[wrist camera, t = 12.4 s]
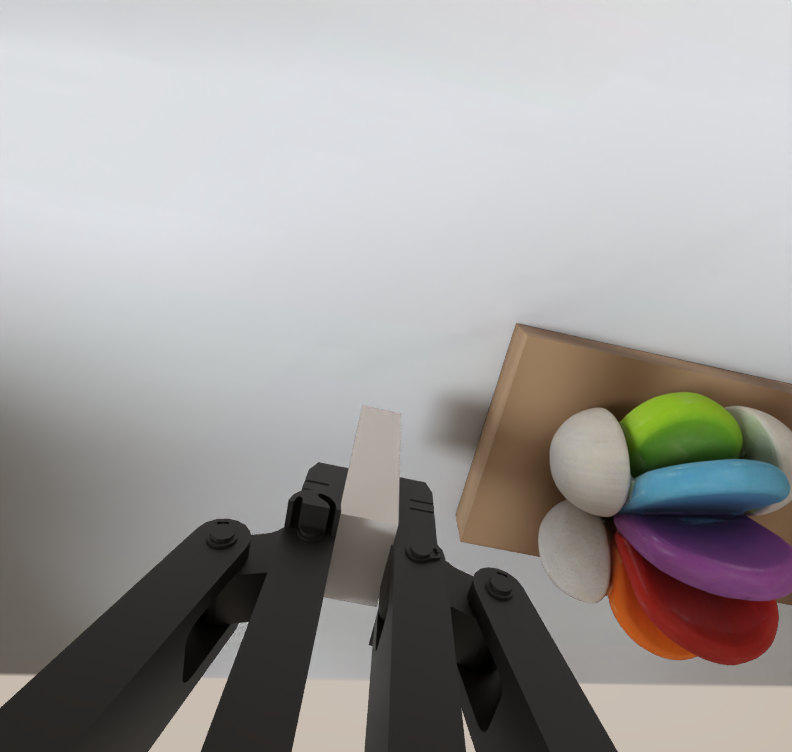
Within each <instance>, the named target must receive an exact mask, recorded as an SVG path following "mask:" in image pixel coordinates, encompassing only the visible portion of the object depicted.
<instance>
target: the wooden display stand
mask: <svg viewBox="0 0 792 752" xmlns="http://www.w3.org/2000/svg"><path fill="white" fill-rule="evenodd" d="M677 392H691V393H697V394H700V395H703V396H706V397H708V398H710V399H712V400H713V401H715V402H717V403H718V404H720V405H721V406H722V407H723V408H725V407H730V406H743V407H748V408H753V409H756V410H759V411H762V412H764V413H767V414H769V415H771V416H773V417H775V418H776V419H778V420H779V421H780V422H782V423H783V424H784V425H785V426H786V427H788V428H789V429H790V430H791V432H792V384H788V383H783V382H779V381H774V380H770V379H765V378H761V377H756V376H751V375H747V374H742V373H738V372H733V371H729V370H724V369H720V368H715V367H711V366H706V365H702V364H697V363H693V362H688V361H684V360H679V359H675V358H670V357H666V356H661V355H657V354H652V353H648V352H643V351H639V350H634V349H630V348H625V347H621V346H616V345H612V344H607V343H603V342H598V341H594V340H589V339H585V338H580V337H576V336H571V335H567V334H562V333H557V332H553V331H548V330H544V329H539V328H535V327H530V326H526V325H521V324H517V323H516V325H515V329H514V332H513V335H512V338H511V341H510V344H509V347H508V351H507V354H506V357H505V360H504V363H503V366H502V370H501V373H500V376H499V379H498V382H497V385H496V389H495V392H494V395H493V398H492V401H491V404H490V408H489V411H488V414H487V417H486V420H485V423H484V427H483V430H482V433H481V436H480V439H479V442H478V446H477V449H476V452H475V455H474V458H473V461H472V465H471V468H470V471H469V474H468V477H467V480H466V484H465V487H464V490H463V493H462V496H461V499H460V503H459V506H458V509H457V512H456V519H457V525H458V531H459V537H460V542H465V543H470V544H476V545H481V546H486V547H491V548H496V549H502V550H507V551H512V552H517V553H523V554H528V555H533V556H538V557H540V553H539V545H538V536H539V528H540V525H541V523H542V521H543V519H544V517H545V516H546V514H547V513H548V512H549V511H550V510H551V509H552V508H553V507H554V506H555V505H557V504H558V503H560V502H562V501H564V500H567V499H566V498H565V497H564V495H563V494H562V493H561V492H560V491H559V489H558V488H557V486H556V484H555V482H554V480H553V477H552V473H551V468H550V446H551V442H552V439H553V437H554V435H555V433H556V432H557V430H558V429H559V427H560V426H561V425H562V424H563V423H564V422H565V421H566V420H567V419H569V418H570V417H571V416H573V415H574V414H577V413H579V412H581V411H584V410H587V409H591V408H604V409H607V410H608V411H609V412H610V413H612V414H613V415H614V416H615V418H616V419H617V421H618V422H620V421H622V419H623V418H624V417H625V416H626V415H627V414H628V413H630V412H631V411H632V410H633V409H634V408H636V407H637V406H639V405H640V404H642V403H644V402H646V401H647V400H649V399H652V398H654V397H657V396H660V395H664V394H669V393H677ZM748 517H749V518H751V519H753V520H754V521H756V522H757V523H759V524H760V525H762V526H764V527H765V528H767V529H768V530H770V531H772V532H773V533H775V534H776V535H778V536H779V537H781V538H782V539H783V540H785V541H786V542H787V543H788V544H789V545H791V546H792V500H791V501H790V502H789V503H788V504H787V505H785V506H784V507H782V508H780V509H778V510H776V511H774V512H771V513H768V514H764V515H760V516H748ZM776 602H778V603H783V604H789V605H792V593H790V594H789V595H787V596H785V597H782V598H778V599H776Z"/></svg>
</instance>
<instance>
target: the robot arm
mask: <svg viewBox="0 0 792 752" xmlns="http://www.w3.org/2000/svg"><path fill="white" fill-rule="evenodd" d="M400 429H401V414H400V413H396V412H391V411H386V410H381V409H376V408H372V407H367V406H362V409H361V414H360V419H359V423H358V428H357V432H356V437H355V442H354V446H353V451H352V455H351V460H350V465H349V468H344V467H339V466H334V465H329V464H324V463H319V462H318V463H317V464H316V465H314V466H313V467H312V468H311V469H309V471H308V474H307V477H306V479H305V482H304V485H303V488H302V490H301V491H300V492H298V493H296V494H294V495H293V496H292V497H291V498H290V499H289V502H288V508H287V514H286V520H285V527H284V528H282V529H280V530H278V531H276V532H272V533H268V534H258V535H251V534H250V531H249V529H248V528H247V527H246V525H244V524H242V523H240V522H239V521H235V520H231V519H216V520H212V521H209V522H206V523H204V524H203V525H201V526H200V527H198V528H197V529H196V530H195V531H194V532H193V533H191V534H190V535H189V536H188V537H187V538H186V539H185V540H184V541H183V542H182V543H180V544H179V545H178V546H177V547H176V548H175V549H174V550H173V551H172V552H171V553H170V554H168V555H167V556H166V557H165V558H164V559H163V560H162V561H161V562H160V563H159V564H157V565H156V566H155V567H154V568H153V569H152V570H151V571H150V572H149V573H148V574H147V575H145V576H144V577H143V578H142V579H141V580H140V581H139V582H138V583H137V584H136V585H134V586H133V587H132V588H131V589H130V590H129V591H128V592H127V593H126V594H125V595H124V596H122V597H121V598H120V599H119V600H118V601H117V602H116V603H115V604H114V605H113V606H111V607H110V608H109V609H108V610H107V611H106V612H105V613H104V614H103V615H102V616H101V617H99V618H98V619H97V620H96V621H95V622H94V623H93V624H92V625H91V626H90V627H89V628H87V629H86V630H85V631H84V632H83V633H82V634H81V635H80V636H79V637H78V638H76V639H75V640H74V641H73V642H72V643H71V644H70V645H69V646H68V647H67V648H66V649H64V650H63V651H62V652H61V653H60V654H59V655H58V656H57V657H56V658H55V659H53V660H52V661H51V662H50V663H49V664H48V665H47V666H46V667H45V668H44V669H43V670H41V671H40V672H39V673H38V674H37V675H36V676H35V677H34V678H33V679H32V680H30V681H29V682H28V683H27V684H26V685H25V686H24V687H23V688H22V689H21V690H20V691H18V692H17V693H16V694H15V695H14V696H13V697H12V698H11V699H10V700H9V701H7V702H6V703H5V704H4V705H3V706H2V707H1V708H0V752H148V751H149V750H150V748H151V747H152V745H153V744H154V743H155V741H156V740H157V738H158V737H159V736H160V734H161V733H162V731H163V730H164V729H165V727H166V725H167V724H168V723H169V722H170V720H171V719H172V718H173V716H174V715H175V713H176V712H177V711H178V709H179V708H180V706H181V705H182V704H183V702H184V701H185V699H186V698H187V697H188V695H189V694H190V692H191V691H192V690H193V688H194V687H195V685H196V684H197V683H198V681H199V680H200V679H201V677H202V676H203V674H204V673H205V672H206V670H207V669H208V667H209V666H210V665H211V663H212V662H213V660H214V659H215V658H216V656H217V655H218V653H219V652H220V651H221V649H222V648H223V646H224V645H225V644H226V642H227V641H228V640H229V638H230V637H231V635H232V634H233V633H234V631H235V630H236V628H237V626H238V624H239V623H242V622H249V624H248V626H247V629H246V632H245V634H244V637H243V640H242V642H241V645H240V648H239V650H238V653H237V656H236V658H235V661H234V664H233V667H232V669H231V672H230V675H229V677H228V681H227V683H226V685H225V688H224V691H223V693H222V696H221V699H220V702H219V704H218V707H217V709H216V712H215V715H214V718H213V720H212V723H211V726H210V728H209V731H208V734H207V736H206V739H205V742H204V744H203V747H202V750H201V752H292V747H293V742H294V737H295V732H296V727H297V723H298V717H299V712H300V708H301V703H302V698H303V693H304V689H305V683H306V679H307V674H308V669H309V664H310V660H311V655H312V650H313V645H314V640H315V635H316V631H317V626H318V621H319V616H320V611H321V606H322V601H323V597H326V598H331V599H337V600H342V601H348V602H353V603H358V604H364V605H369V606H375V607H377V603H378V599H379V609H378V612H377V616H376V620H375V623H374V627H373V631H372V635H371V638H370V642H369V645H371V646H373V649H372V662H371V674H370V688H369V701H368V713H367V726H366V739H365V752H466V749H465V748H466V747H465V738H464V729H463V720H462V711H463V714H464V717H465V720H466V724H467V727H468V730H469V732H470V736H471V739H472V741H473V745H474V748H475V751H476V752H618V751H617V750H616V748H615V746H614V745H613V743H612V741H611V739H610V738H609V736H608V734H607V732H606V731H605V729H604V727H603V726H602V724H601V722H600V720H599V719H598V717H597V715H596V714H595V712H594V710H593V708H592V706H591V705H590V703H589V701H588V699H587V698H586V696H585V694H584V693H583V691H582V689H581V687H580V686H579V684H578V682H577V680H576V679H575V677H574V675H573V673H572V672H571V670H570V668H569V667H568V665H567V663H566V661H565V660H564V658H563V656H562V654H561V653H560V651H559V649H558V647H557V646H556V644H555V642H554V640H553V639H552V637H551V635H550V634H549V632H548V630H547V628H546V627H545V625H544V623H543V621H542V620H541V618H540V616H539V614H538V613H537V611H536V609H535V608H534V606H533V604H532V602H531V601H530V599H529V597H528V595H527V594H526V592H525V590H524V588H523V587H522V586H521V584H520V583H519V582H518V581H517V580H516V579H515V578H514V577H512V576H511V575H510V574H508V573H506V572H504V571H502V570H500V569H496V568H489V567H488V568H483V569H480V570H478V571H477V572H476V573H475V575H474V576H471V575H469V574H467V573H465V572H462V571H460V570H458V569H457V568H455V567H453V566H452V565H450V564H449V563H448V562H446V560H445V557H444V554H443V551H442V550H441V548H440V547H439V546H438V545H437V539H436V528H435V517H434V507H433V496H432V492H431V490H430V489H429V487H428V486H427V484H426V483H425V482H420V481H415V480H410V479H405V478H400V477H399V475H400ZM461 708H462V710H461Z"/></svg>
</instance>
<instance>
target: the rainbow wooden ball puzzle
mask: <svg viewBox="0 0 792 752" xmlns="http://www.w3.org/2000/svg"><path fill="white" fill-rule="evenodd" d="M550 468H551V473H552V477H553V480H554V482H555V484H556V486H557V488H558V489H559V491H560V492H561V493H562V494H563V495H564V497H565V498H566V499H567V500H564V501H562V502H560V503H558V504H557V505H555V506H554V507H553V508H552V509H551V510H550V511H549V512H548V513H547V514H546V516H545V517H544V519H543V521H542V523H541V525H540V528H539V536H538V545H539V553H540V559H541V562H542V565H543V568H544V570H545V572H546V573H547V575H548V576H549V578H550V579H551V580H552V581H553V583H554V584H555V585H556V586H557V587H558V588H560V589H561V590H562V591H563V592H565V593H566V594H568V595H569V596H571V597H573V598H575V599H578V600H581V601H584V602H588V603H597V602H599V601H600V600H602V599H603V597H604V596H608V598H609V603H610V606H611V609H612V611H613V614H614V616H615V618H616V619H617V621H618V623H619V624H620V626H621V627H622V628H623V630H624V631H625V632H626V633H627V634H628V636H629V637H630V638H631V639H632V640H633V641H635V642H636V643H637V644H638V645H640V646H641V647H643V648H644V649H646V650H648V651H649V652H651V653H653V654H655V655H658V656H660V657H663V658H667V659H672V660H686V659H691V658H694V657H697V656H698V657H700V658H702V659H705V660H708V661H711V662H714V663H718V664H724V665H738V664H742V663H746V662H748V661H751V660H754V659H756V658H758V657H759V656H761V655H762V654H763V653H764V652H766V651H767V650H768V648H769V647H770V646H771V644H772V643H773V641H774V638H775V635H776V631H777V627H778V621H779V615H778V606H777V603H776V599H778V598H782V597H785V596H787V595H789V594H790V593H792V546H791V545H789V544H788V543H787V542H786V541H785V540H783V539H782V538H781V537H779V536H778V535H776V534H775V533H773V532H772V531H770V530H768V529H767V528H765V527H764V526H762V525H760V524H759V523H757V522H756V521H754V520H753V519H751V518H749V517H748V516H760V515H764V514H768V513H771V512H774V511H776V510H778V509H780V508H782V507H784V506H785V505H787V504H788V503H789V502H790V501H791V500H792V432H791V430H790V429H789V428H788V427H786V426H785V425H784V424H783V423H782V422H780V421H779V420H778V419H776V418H775V417H773V416H771V415H769V414H767V413H764V412H762V411H759V410H756V409H753V408H748V407H743V406H730V407H725V408H723V407H722V406H721V405H720V404H718V403H717V402H715V401H713V400H712V399H710V398H708V397H706V396H703V395H700V394H697V393H691V392H677V393H669V394H664V395H660V396H657V397H654V398H652V399H649V400H647V401H646V402H644V403H642V404H640V405H639V406H637V407H636V408H634V409H633V410H632V411H631V412H630V413H628V414H627V415H626V416H625V417H624V418H623V419H622V421H620V422H618V421H617V419H616V418H615V416H614V415H613V414H612V413H610V412H609V411H608V410H607V409H604V408H591V409H587V410H584V411H581V412H579V413H577V414H574V415H573V416H571V417H570V418H569V419H567V420H566V421H565V422H564V423H563V424H562V425H561V426H560V427H559V429H558V430H557V432H556V433H555V435H554V437H553V439H552V442H551V446H550Z"/></svg>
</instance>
